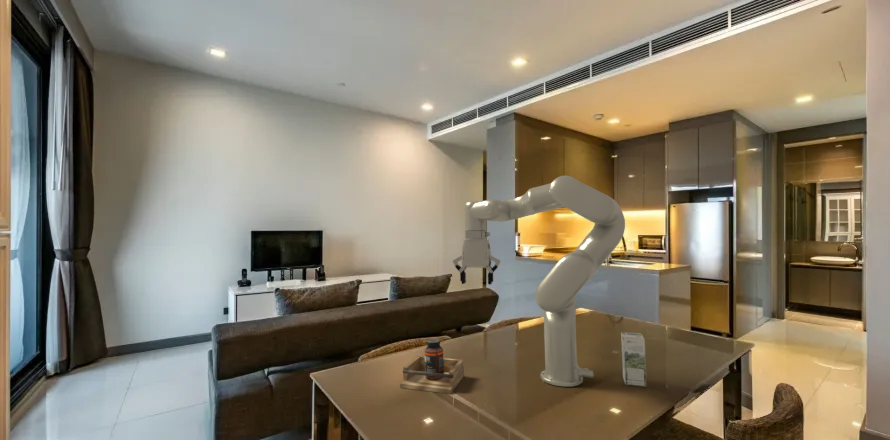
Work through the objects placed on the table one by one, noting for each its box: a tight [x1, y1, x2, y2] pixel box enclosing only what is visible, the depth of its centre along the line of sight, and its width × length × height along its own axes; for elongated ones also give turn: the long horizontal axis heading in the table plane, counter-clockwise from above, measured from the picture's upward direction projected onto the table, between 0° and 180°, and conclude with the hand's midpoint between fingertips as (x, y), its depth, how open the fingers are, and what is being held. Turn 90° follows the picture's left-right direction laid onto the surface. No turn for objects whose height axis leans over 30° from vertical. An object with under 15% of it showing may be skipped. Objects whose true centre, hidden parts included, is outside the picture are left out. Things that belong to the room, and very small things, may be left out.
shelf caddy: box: [399, 355, 465, 395], centre depth 113 cm, size 16×14×5 cm
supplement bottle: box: [424, 338, 444, 380], centre depth 114 cm, size 6×6×11 cm
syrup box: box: [620, 331, 647, 388], centre depth 110 cm, size 6×6×14 cm
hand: (476, 283), depth 129 cm, fingers open, 9 cm apart
